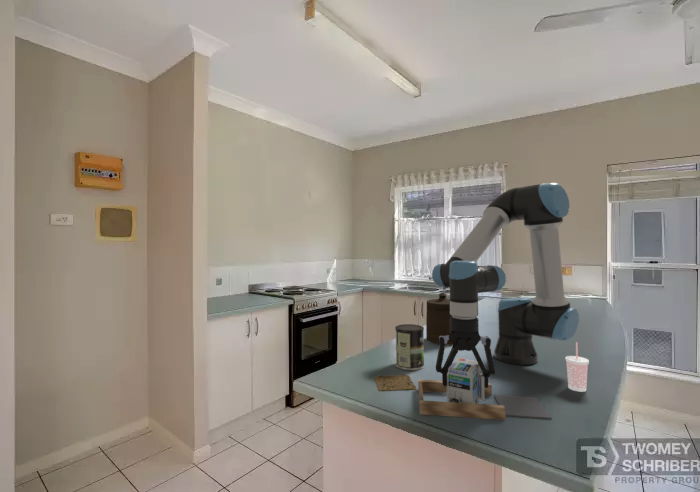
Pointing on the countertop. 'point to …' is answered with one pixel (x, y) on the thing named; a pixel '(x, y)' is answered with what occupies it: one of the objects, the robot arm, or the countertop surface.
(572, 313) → the robot arm
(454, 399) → the light bulb box
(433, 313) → the wooden container
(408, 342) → the coffee can
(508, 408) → the rubber mat
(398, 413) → the countertop surface
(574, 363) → the beverage cup
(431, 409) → the oak open-sided frame
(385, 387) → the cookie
